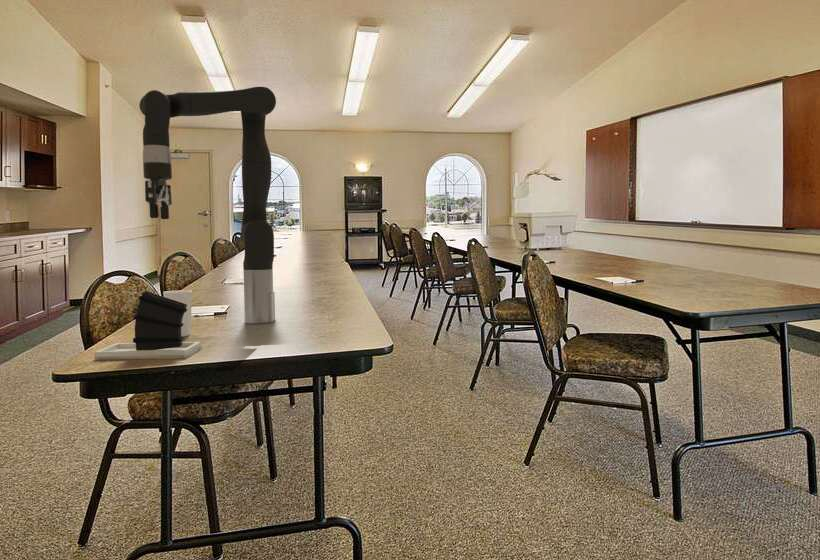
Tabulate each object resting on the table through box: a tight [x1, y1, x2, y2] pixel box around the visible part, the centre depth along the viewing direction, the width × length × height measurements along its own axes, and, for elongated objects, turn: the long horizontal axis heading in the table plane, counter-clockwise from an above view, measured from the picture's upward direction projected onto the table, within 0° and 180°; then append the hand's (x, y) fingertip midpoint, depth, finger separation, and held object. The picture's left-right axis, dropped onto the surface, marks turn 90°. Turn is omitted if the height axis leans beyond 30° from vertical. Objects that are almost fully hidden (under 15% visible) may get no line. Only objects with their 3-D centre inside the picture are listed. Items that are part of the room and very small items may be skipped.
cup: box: [162, 289, 193, 337], centre depth 169 cm, size 8×8×14 cm
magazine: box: [132, 290, 187, 350], centre depth 147 cm, size 4×13×15 cm, turn 98°
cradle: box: [94, 341, 202, 361], centre depth 147 cm, size 22×12×2 cm, turn 94°
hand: (159, 218), depth 167 cm, fingers open, 8 cm apart
